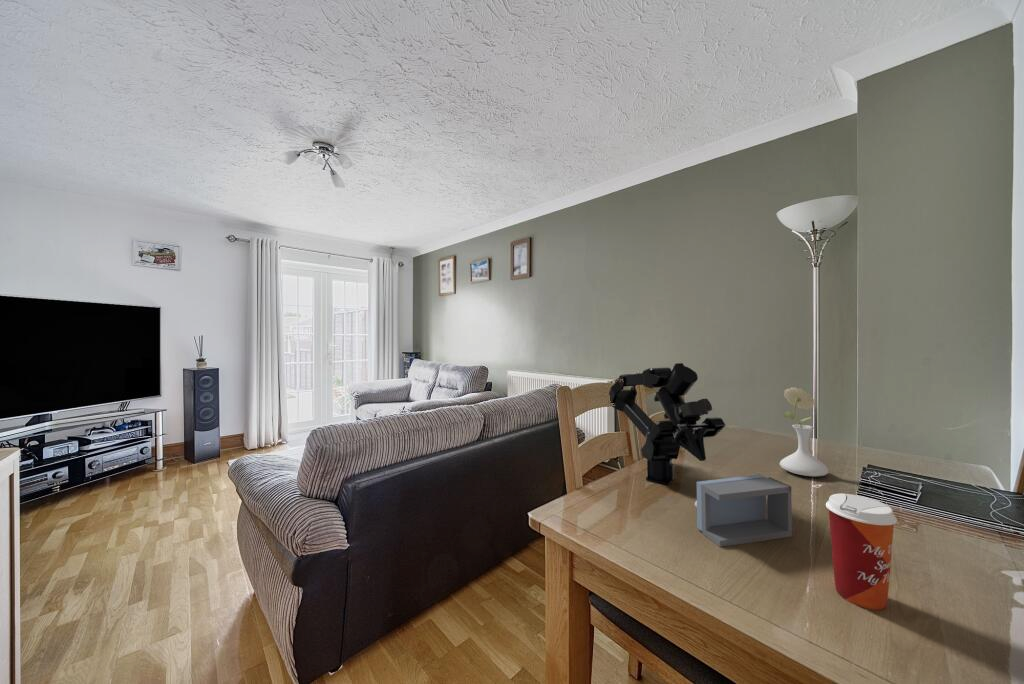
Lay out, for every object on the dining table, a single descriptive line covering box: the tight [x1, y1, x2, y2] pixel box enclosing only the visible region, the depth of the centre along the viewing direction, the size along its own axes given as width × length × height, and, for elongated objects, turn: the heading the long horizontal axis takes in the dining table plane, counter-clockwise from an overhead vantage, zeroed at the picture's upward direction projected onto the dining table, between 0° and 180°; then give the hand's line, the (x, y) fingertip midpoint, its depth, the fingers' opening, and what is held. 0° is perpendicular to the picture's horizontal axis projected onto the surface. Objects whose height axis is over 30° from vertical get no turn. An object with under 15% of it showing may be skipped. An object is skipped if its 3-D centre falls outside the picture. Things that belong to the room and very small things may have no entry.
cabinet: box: [701, 477, 793, 548], centre depth 77 cm, size 5×17×10 cm, turn 100°
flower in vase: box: [779, 386, 830, 478], centre depth 111 cm, size 13×11×25 cm
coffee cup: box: [825, 493, 898, 611], centre depth 59 cm, size 8×8×15 cm
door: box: [694, 474, 767, 532], centre depth 81 cm, size 3×17×10 cm, turn 101°
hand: (703, 460), depth 90 cm, fingers closed
